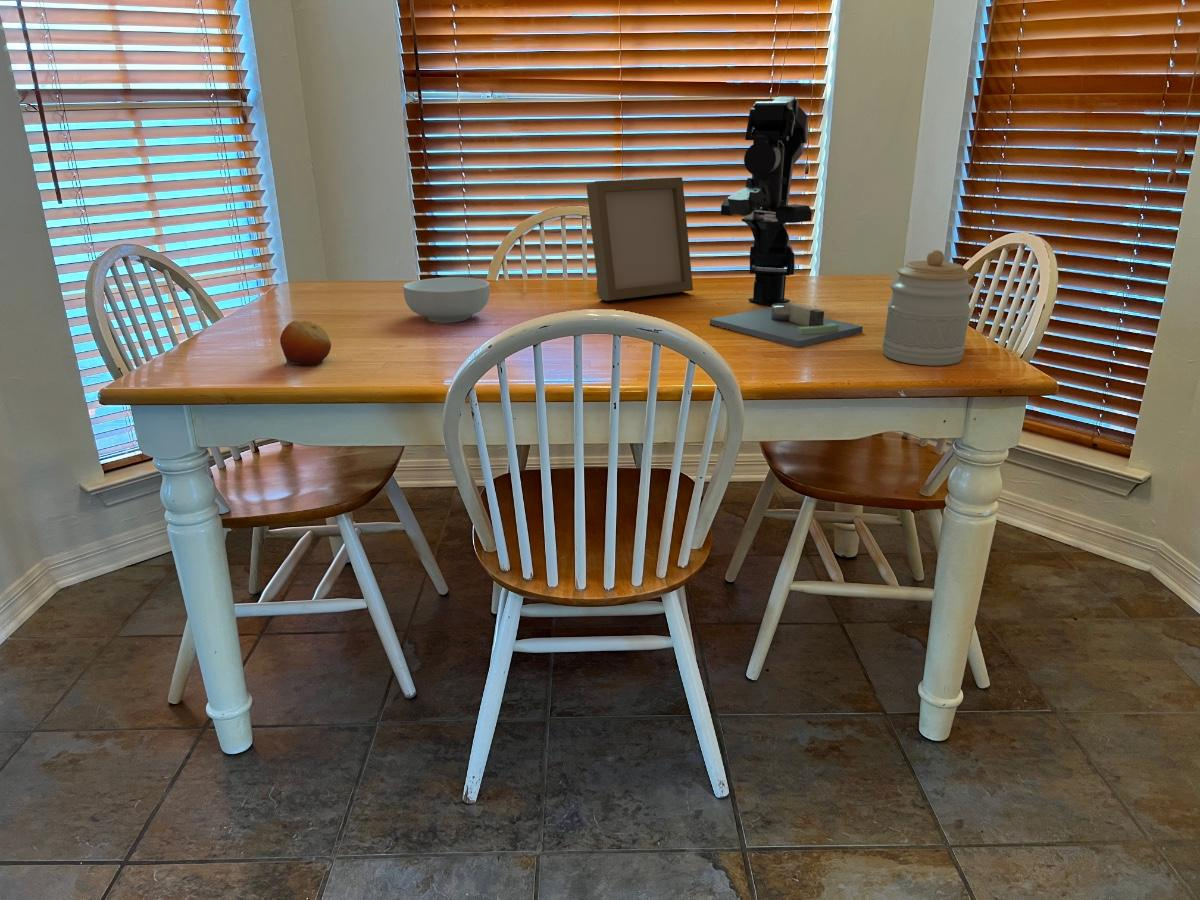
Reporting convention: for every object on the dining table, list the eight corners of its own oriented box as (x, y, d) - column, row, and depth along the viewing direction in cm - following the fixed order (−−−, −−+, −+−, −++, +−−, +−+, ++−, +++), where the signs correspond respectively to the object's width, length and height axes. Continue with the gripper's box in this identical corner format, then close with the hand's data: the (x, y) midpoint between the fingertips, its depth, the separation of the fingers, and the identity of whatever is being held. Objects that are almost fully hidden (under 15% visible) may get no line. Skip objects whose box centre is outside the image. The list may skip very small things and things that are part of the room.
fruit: (277, 349, 145) (297, 308, 143) (321, 371, 147) (341, 331, 145) (264, 362, 138) (284, 319, 136) (310, 385, 140) (331, 343, 138)
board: (773, 312, 177) (773, 301, 176) (862, 332, 161) (863, 320, 160) (709, 324, 167) (710, 313, 166) (798, 347, 150) (799, 335, 150)
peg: (765, 317, 167) (766, 300, 166) (786, 314, 169) (787, 298, 168) (808, 330, 156) (810, 313, 155) (829, 327, 159) (831, 310, 157)
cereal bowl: (506, 314, 177) (505, 279, 174) (461, 331, 162) (459, 294, 160) (437, 306, 183) (435, 273, 181) (388, 323, 169) (385, 287, 167)
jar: (980, 363, 141) (998, 254, 134) (911, 370, 138) (927, 258, 131) (930, 344, 153) (944, 242, 146) (866, 350, 149) (878, 246, 143)
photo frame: (692, 294, 194) (697, 178, 185) (609, 304, 184) (609, 182, 175) (657, 284, 206) (659, 174, 197) (576, 293, 196) (575, 178, 187)
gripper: (702, 171, 166) (699, 254, 172) (776, 177, 152) (769, 266, 158) (742, 169, 172) (738, 248, 178) (817, 174, 158) (809, 260, 164)
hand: (762, 255), depth 169 cm, fingers closed
